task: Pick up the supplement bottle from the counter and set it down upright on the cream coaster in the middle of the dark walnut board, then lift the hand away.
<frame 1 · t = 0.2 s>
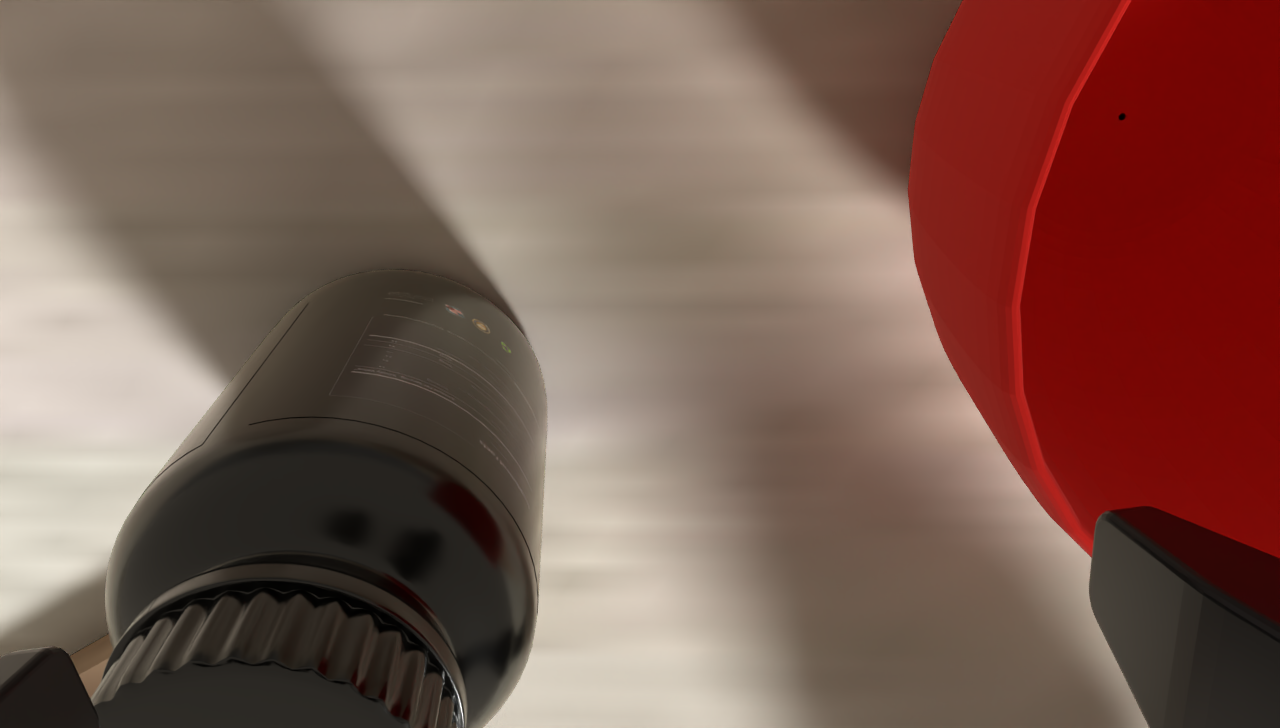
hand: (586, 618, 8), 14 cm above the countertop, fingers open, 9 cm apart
supplement bottle: (412, 390, 23), on the countertop
ceramic cup: (1193, 82, 21), on the countertop
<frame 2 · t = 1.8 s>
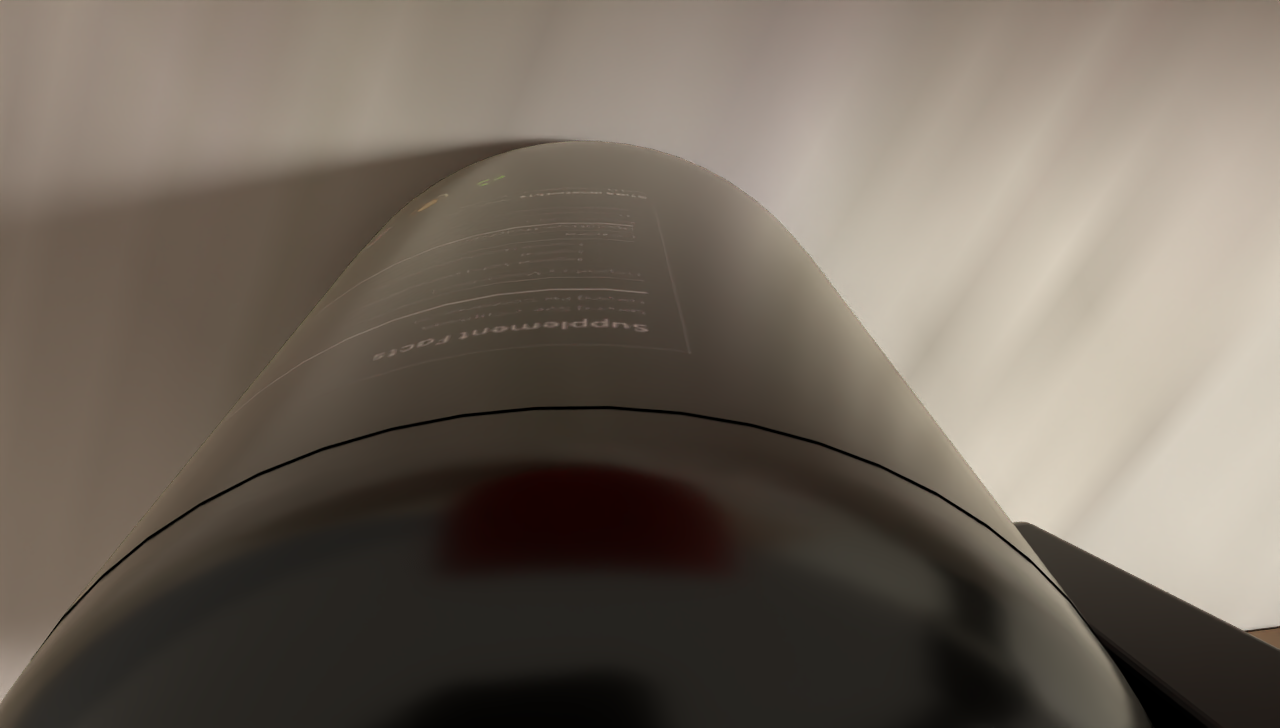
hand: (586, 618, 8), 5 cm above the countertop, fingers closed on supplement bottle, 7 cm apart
supplement bottle: (588, 371, 13), on the countertop, touching gripper
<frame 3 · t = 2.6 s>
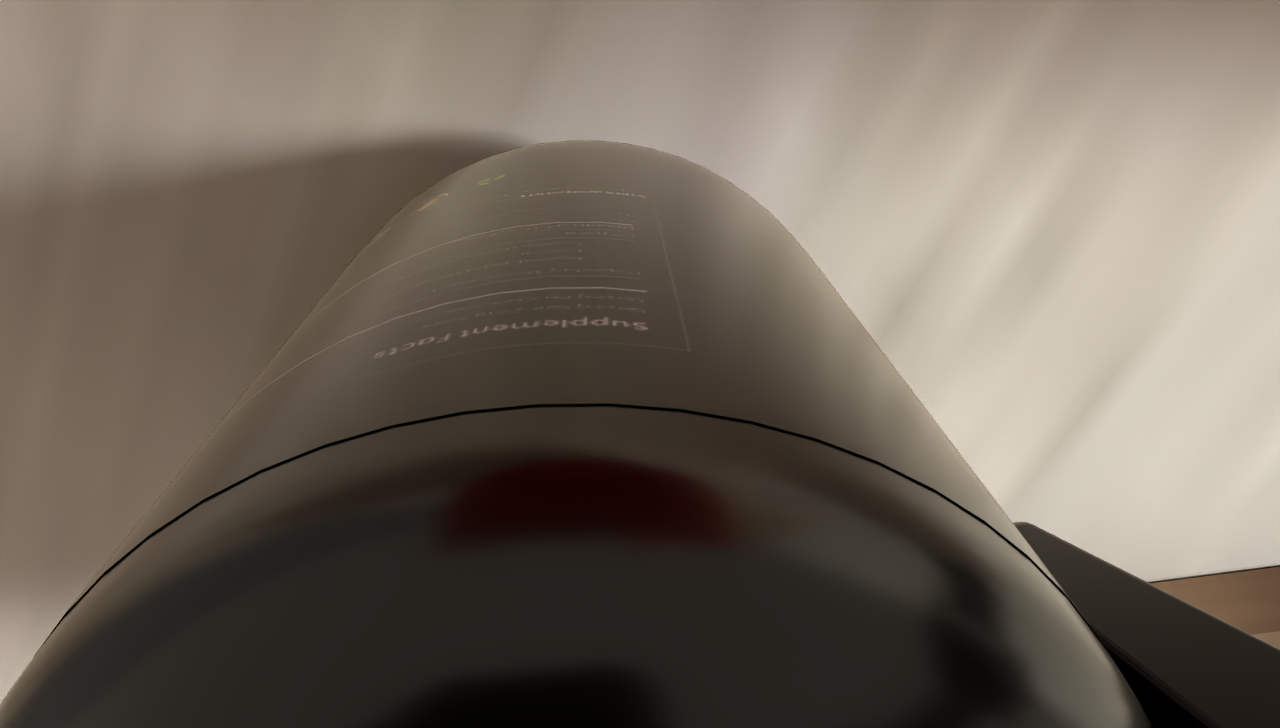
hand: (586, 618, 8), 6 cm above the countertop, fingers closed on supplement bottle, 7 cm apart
supplement bottle: (588, 370, 13), point 1 cm above the countertop, touching gripper
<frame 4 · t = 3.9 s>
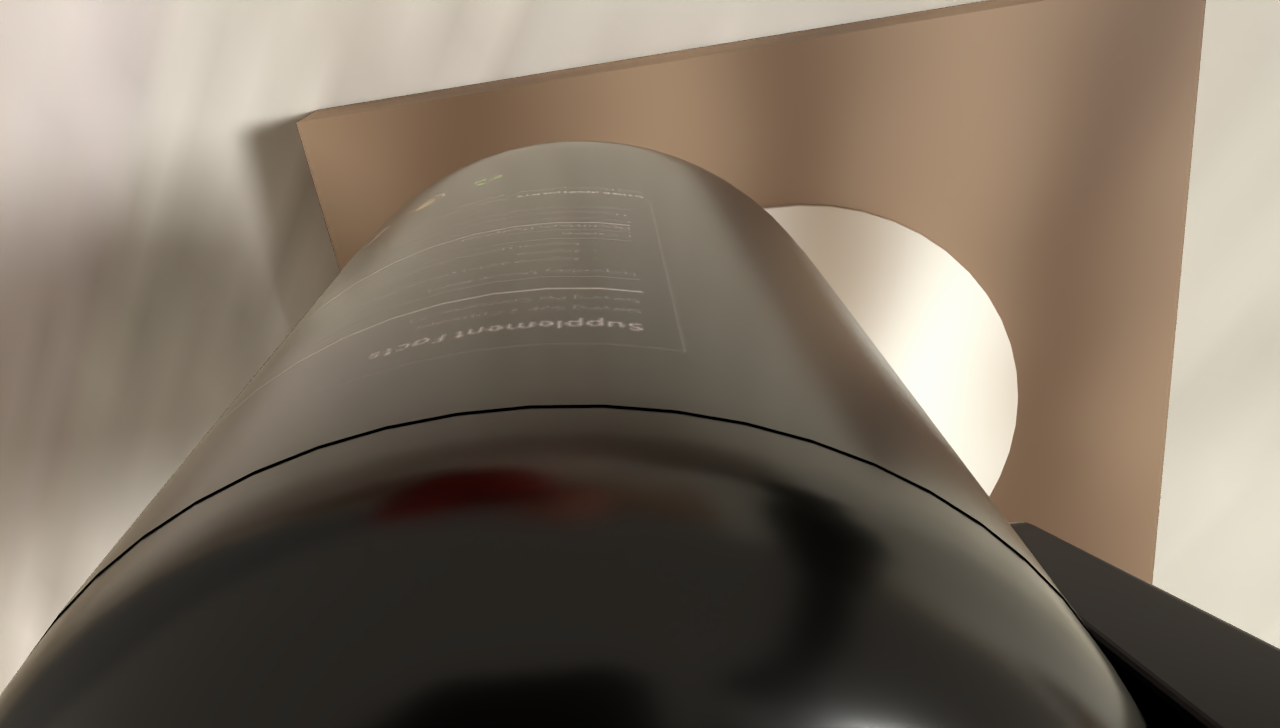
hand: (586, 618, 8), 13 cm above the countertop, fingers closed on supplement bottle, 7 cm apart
supplement bottle: (586, 370, 13), point 8 cm above the countertop, touching gripper
walnut board: (773, 397, 22), on the countertop
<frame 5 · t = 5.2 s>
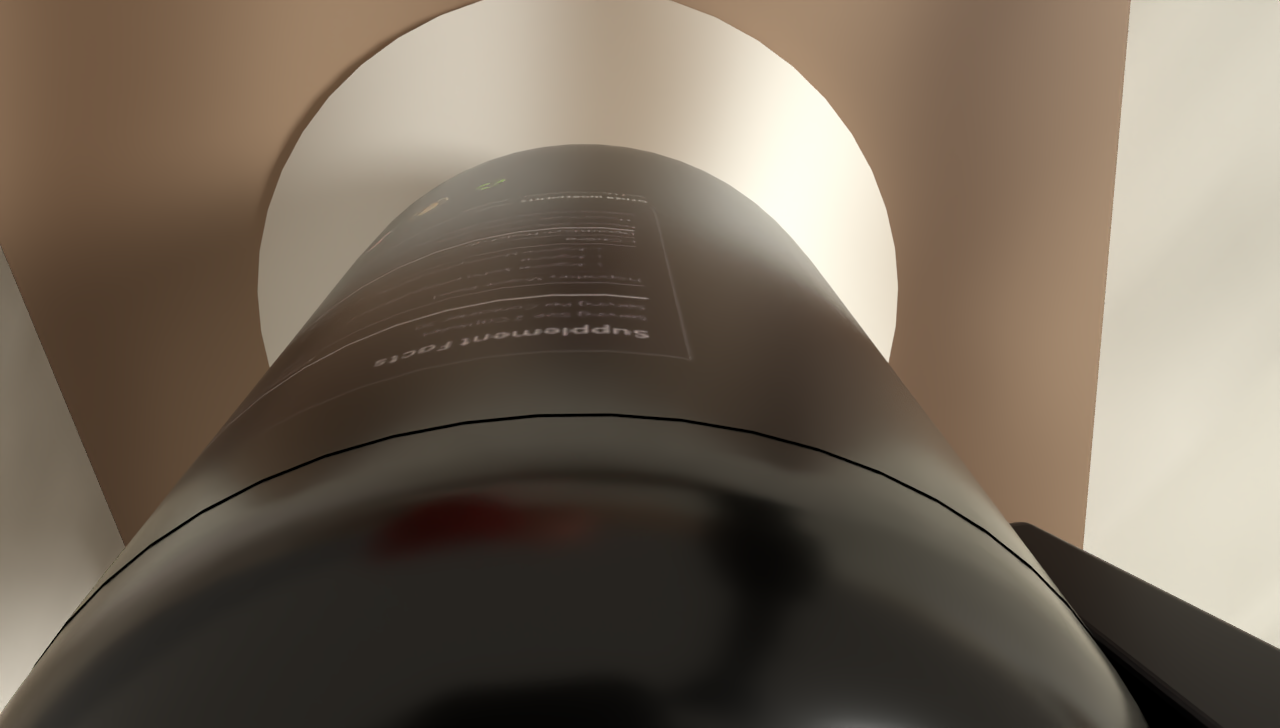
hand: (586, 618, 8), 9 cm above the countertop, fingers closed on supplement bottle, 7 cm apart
supplement bottle: (588, 373, 13), point 4 cm above the countertop, touching gripper
walnut board: (584, 291, 16), on the countertop
when the fingers open (8 cm above the countertop, at t = 6.0 s): supplement bottle stays where it is, resting on walnut board.
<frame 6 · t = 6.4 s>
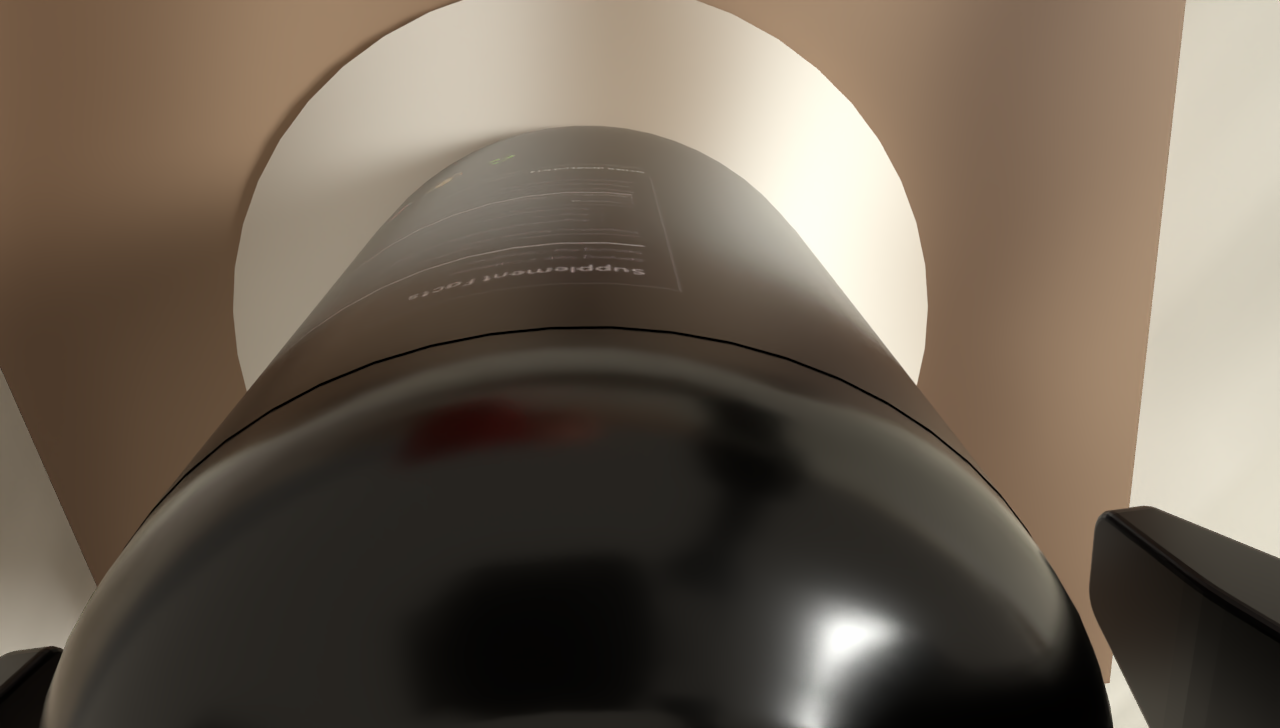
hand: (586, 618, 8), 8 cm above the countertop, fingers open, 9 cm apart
supplement bottle: (590, 343, 14), point 2 cm above the countertop, touching walnut board
walnut board: (587, 308, 15), on the countertop
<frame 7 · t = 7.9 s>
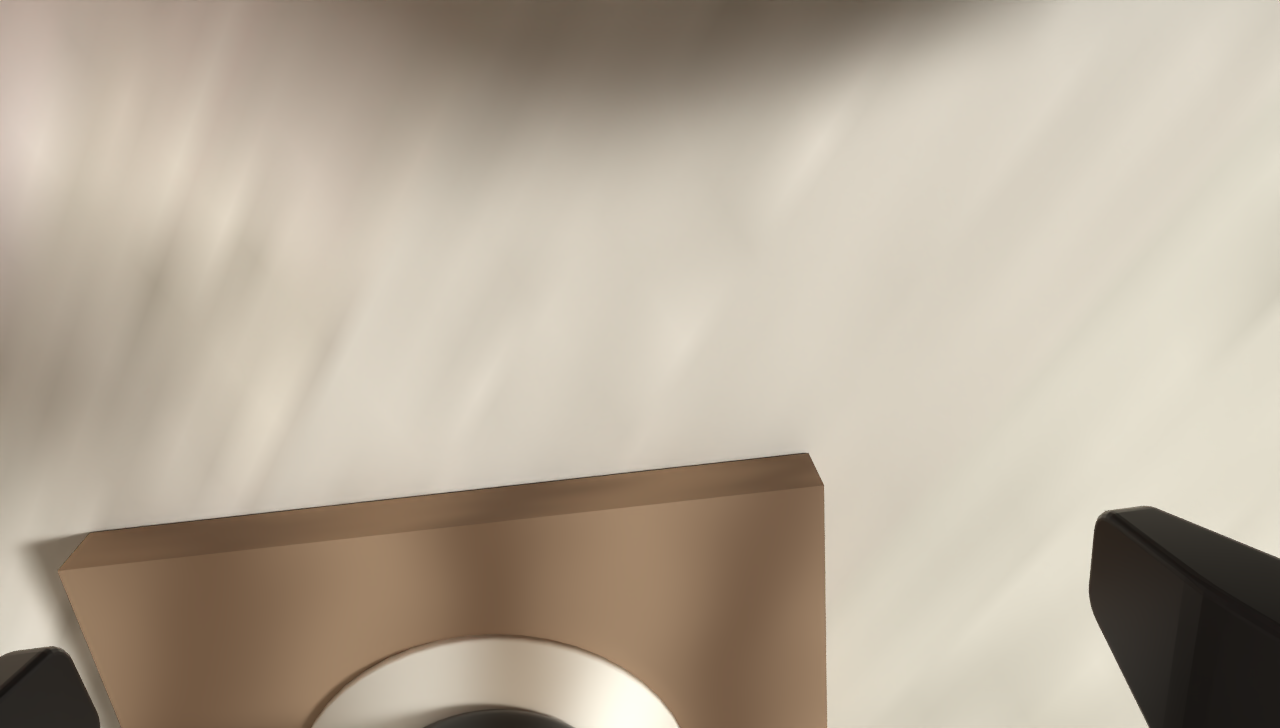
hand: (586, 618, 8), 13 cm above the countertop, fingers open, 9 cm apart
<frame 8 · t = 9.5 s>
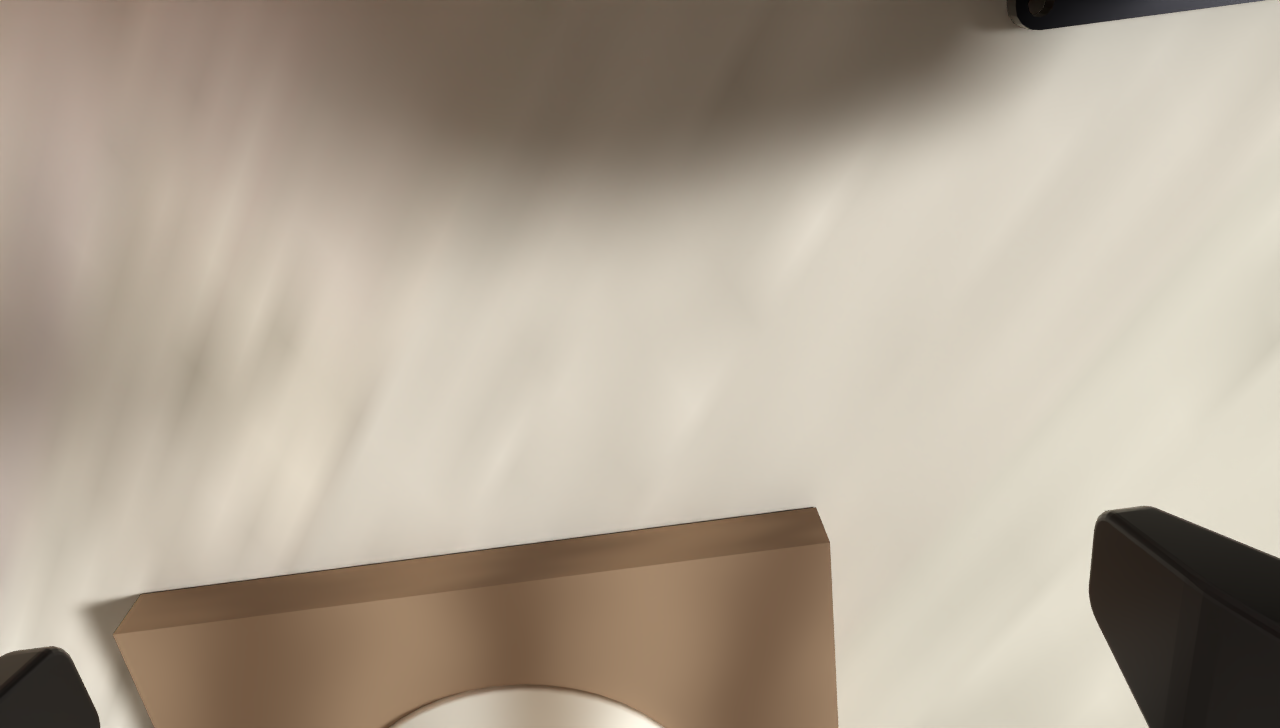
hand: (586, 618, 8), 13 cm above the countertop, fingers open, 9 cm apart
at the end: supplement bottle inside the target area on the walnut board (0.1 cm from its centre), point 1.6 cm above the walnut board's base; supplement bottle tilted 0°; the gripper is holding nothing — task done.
